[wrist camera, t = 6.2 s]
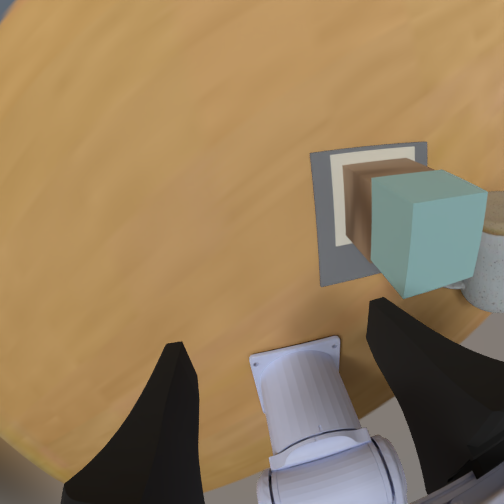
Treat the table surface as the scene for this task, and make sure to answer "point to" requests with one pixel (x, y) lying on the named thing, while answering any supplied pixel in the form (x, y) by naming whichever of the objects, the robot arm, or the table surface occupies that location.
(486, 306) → the ceramic mug
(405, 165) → the walnut block
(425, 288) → the teal block
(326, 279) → the mat
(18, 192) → the table surface
